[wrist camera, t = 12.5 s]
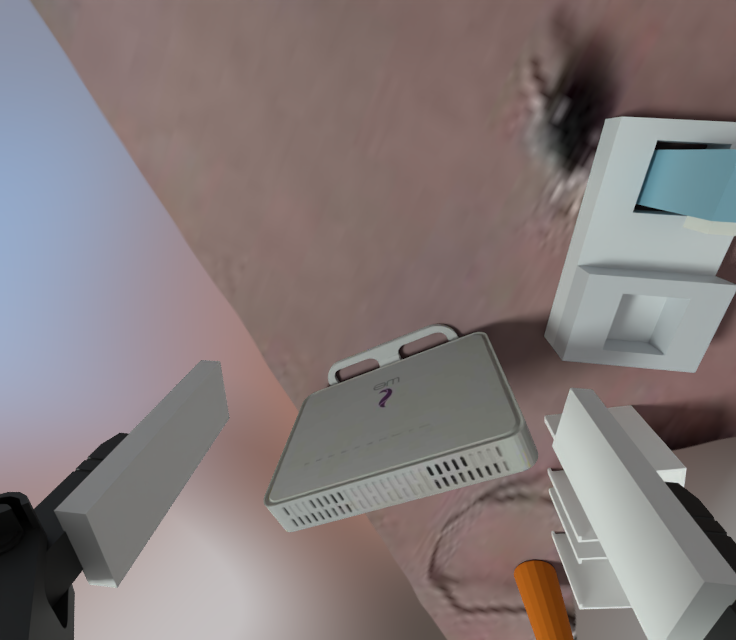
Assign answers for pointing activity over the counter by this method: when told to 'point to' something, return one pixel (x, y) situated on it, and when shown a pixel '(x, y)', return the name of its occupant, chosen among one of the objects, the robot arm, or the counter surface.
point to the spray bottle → (543, 600)
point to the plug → (694, 188)
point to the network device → (400, 432)
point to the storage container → (580, 541)
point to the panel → (639, 260)
